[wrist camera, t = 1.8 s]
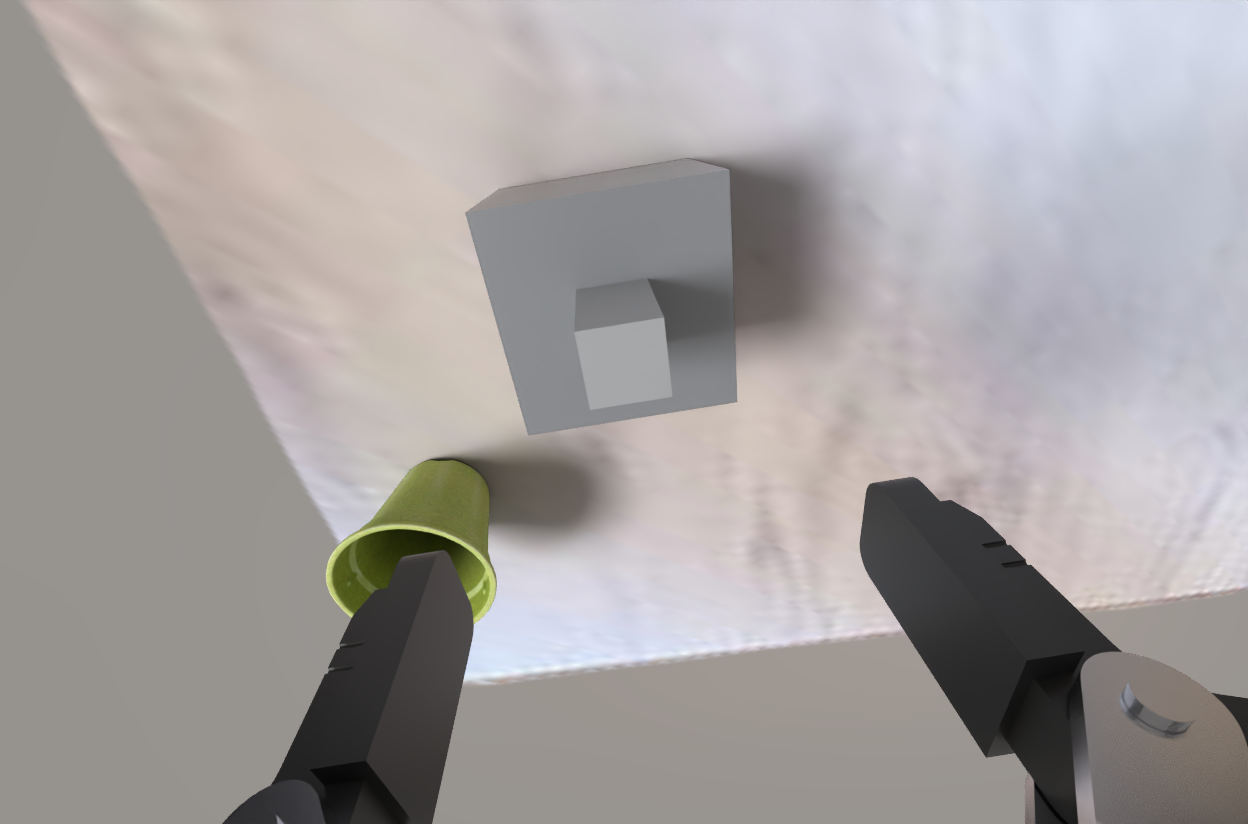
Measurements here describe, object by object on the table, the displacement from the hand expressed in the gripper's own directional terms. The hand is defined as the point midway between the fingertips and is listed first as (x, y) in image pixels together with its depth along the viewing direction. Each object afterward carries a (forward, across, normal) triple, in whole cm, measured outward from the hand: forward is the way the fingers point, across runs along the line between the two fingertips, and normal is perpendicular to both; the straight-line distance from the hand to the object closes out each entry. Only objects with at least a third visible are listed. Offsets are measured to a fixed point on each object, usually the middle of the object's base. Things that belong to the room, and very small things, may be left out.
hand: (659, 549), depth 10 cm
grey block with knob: (+22, 0, 0) cm, 22 cm away
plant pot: (+23, +14, +14) cm, 30 cm away
